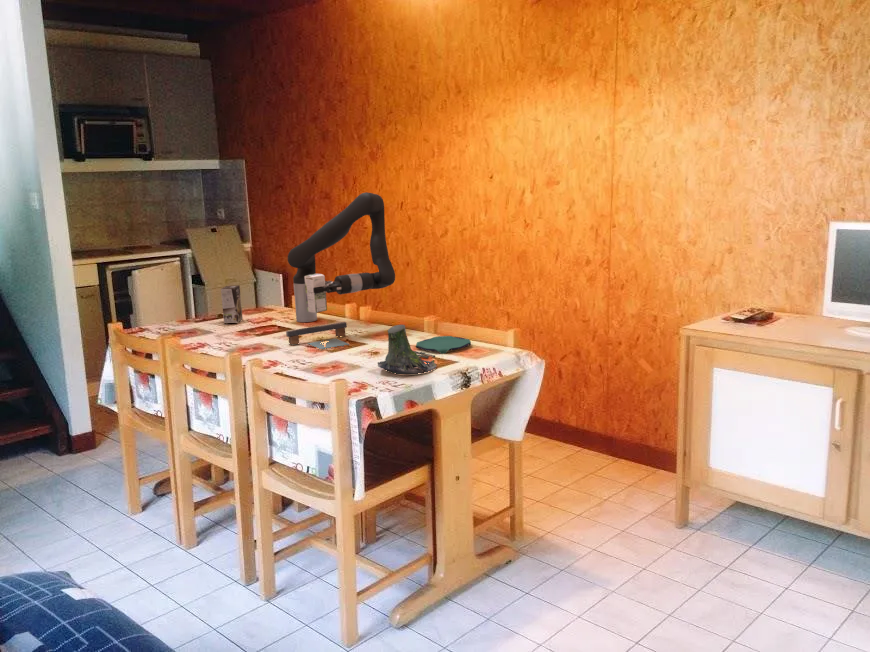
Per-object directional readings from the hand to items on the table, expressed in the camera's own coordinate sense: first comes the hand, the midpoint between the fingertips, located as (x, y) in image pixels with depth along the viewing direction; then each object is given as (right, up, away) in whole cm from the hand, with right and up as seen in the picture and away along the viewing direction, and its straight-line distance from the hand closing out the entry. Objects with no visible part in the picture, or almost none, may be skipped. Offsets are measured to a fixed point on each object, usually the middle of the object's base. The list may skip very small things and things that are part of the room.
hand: (310, 289), depth 294 cm
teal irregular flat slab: (+48, -24, -15) cm, 56 cm away
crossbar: (+2, -16, +5) cm, 17 cm away
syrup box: (+2, -9, +3) cm, 10 cm away
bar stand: (+2, -20, +6) cm, 21 cm away
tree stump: (+40, -29, -40) cm, 64 cm away
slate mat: (+7, -22, -2) cm, 23 cm away
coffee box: (-42, -13, +47) cm, 65 cm away
